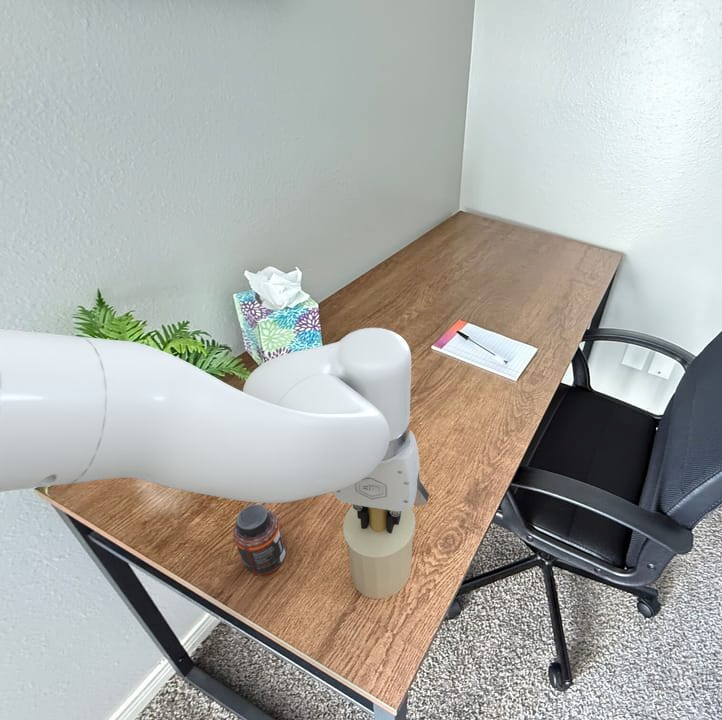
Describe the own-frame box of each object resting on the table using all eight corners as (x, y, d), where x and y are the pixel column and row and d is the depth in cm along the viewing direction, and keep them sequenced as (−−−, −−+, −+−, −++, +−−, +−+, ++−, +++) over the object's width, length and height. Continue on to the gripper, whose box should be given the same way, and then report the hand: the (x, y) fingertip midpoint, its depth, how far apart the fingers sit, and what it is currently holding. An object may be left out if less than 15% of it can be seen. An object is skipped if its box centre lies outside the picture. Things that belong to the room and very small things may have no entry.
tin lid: (344, 567, 60) (340, 539, 56) (342, 502, 67) (339, 473, 63) (420, 554, 62) (421, 527, 58) (410, 493, 69) (411, 465, 65)
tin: (352, 604, 67) (347, 561, 60) (350, 547, 74) (345, 501, 66) (414, 592, 70) (416, 549, 62) (407, 538, 76) (408, 493, 69)
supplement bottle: (295, 554, 72) (284, 512, 65) (262, 585, 68) (247, 544, 61) (269, 533, 74) (256, 490, 67) (236, 562, 70) (218, 520, 63)
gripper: (291, 444, 49) (310, 537, 61) (441, 467, 49) (433, 556, 61) (317, 396, 55) (331, 489, 67) (452, 417, 55) (442, 507, 67)
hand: (379, 520), depth 64 cm, fingers closed on tin lid, 2 cm apart
